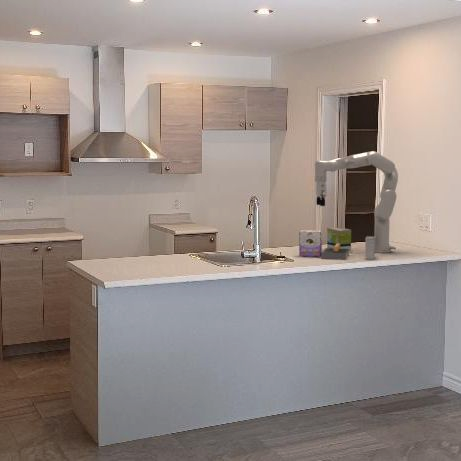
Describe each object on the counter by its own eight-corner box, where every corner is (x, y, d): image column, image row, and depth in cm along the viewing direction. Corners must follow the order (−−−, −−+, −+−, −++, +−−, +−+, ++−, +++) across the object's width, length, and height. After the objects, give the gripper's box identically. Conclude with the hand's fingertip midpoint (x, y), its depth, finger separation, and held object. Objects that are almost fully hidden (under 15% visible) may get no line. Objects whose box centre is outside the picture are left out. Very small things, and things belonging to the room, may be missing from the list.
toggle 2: (338, 250, 455) (338, 245, 455) (337, 251, 452) (337, 246, 452) (334, 250, 456) (334, 245, 455) (333, 251, 453) (333, 246, 452)
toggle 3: (340, 248, 466) (340, 243, 465) (339, 249, 463) (339, 244, 462) (336, 248, 466) (336, 243, 466) (335, 248, 463) (335, 244, 463)
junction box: (374, 256, 460) (375, 236, 458) (373, 259, 448) (374, 239, 446) (366, 256, 461) (366, 236, 460) (364, 259, 449) (365, 238, 448)
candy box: (322, 256, 464) (322, 230, 462) (320, 257, 458) (321, 231, 456) (300, 255, 468) (300, 229, 466) (299, 256, 462) (299, 230, 460)
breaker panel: (348, 255, 468) (348, 248, 467) (345, 259, 448) (345, 252, 448) (325, 254, 471) (325, 247, 471) (321, 258, 452) (321, 252, 452)
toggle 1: (339, 249, 460) (339, 244, 460) (338, 250, 457) (338, 245, 457) (335, 249, 461) (335, 244, 461) (334, 250, 458) (334, 245, 458)
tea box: (326, 249, 494) (326, 227, 492) (338, 248, 498) (339, 227, 496) (338, 252, 480) (339, 230, 478) (351, 251, 484) (351, 229, 483)
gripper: (329, 179, 471) (329, 206, 473) (323, 178, 488) (323, 204, 490) (318, 180, 470) (318, 206, 472) (312, 178, 487) (312, 204, 489)
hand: (320, 205), depth 481 cm, fingers open, 9 cm apart
